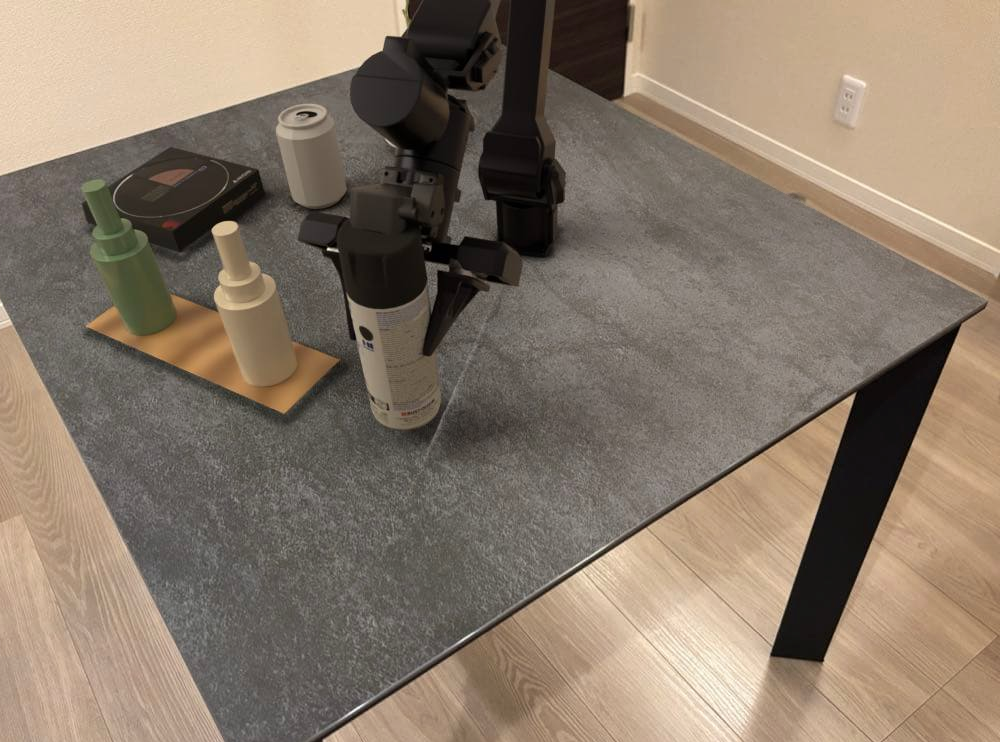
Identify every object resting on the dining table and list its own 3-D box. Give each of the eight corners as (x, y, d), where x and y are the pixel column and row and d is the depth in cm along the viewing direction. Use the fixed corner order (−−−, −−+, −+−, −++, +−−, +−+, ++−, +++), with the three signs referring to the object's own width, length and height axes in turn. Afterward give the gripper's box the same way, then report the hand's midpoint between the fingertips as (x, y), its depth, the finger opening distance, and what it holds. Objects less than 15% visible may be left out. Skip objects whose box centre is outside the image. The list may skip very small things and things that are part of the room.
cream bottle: (230, 382, 85) (179, 243, 74) (256, 345, 89) (212, 207, 78) (282, 390, 84) (238, 250, 72) (307, 352, 88) (269, 213, 76)
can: (356, 186, 114) (341, 102, 106) (333, 215, 109) (315, 129, 101) (308, 180, 116) (289, 97, 108) (283, 208, 111) (261, 124, 103)
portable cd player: (176, 171, 121) (167, 145, 118) (265, 195, 114) (258, 169, 111) (90, 228, 111) (78, 202, 108) (182, 258, 104) (172, 231, 102)
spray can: (384, 375, 81) (349, 202, 66) (451, 385, 79) (430, 209, 64) (362, 426, 77) (319, 253, 62) (432, 437, 75) (406, 262, 60)
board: (341, 366, 87) (340, 359, 87) (286, 420, 82) (284, 413, 82) (147, 290, 100) (144, 283, 99) (88, 332, 95) (85, 325, 94)
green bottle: (113, 331, 93) (49, 198, 81) (142, 299, 97) (85, 167, 85) (159, 339, 91) (101, 204, 80) (187, 306, 95) (135, 172, 83)
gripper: (282, 123, 65) (244, 317, 66) (505, 151, 59) (460, 364, 60) (346, 164, 76) (312, 331, 77) (540, 191, 70) (501, 372, 71)
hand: (389, 348), depth 71 cm, fingers closed on spray can, 6 cm apart
